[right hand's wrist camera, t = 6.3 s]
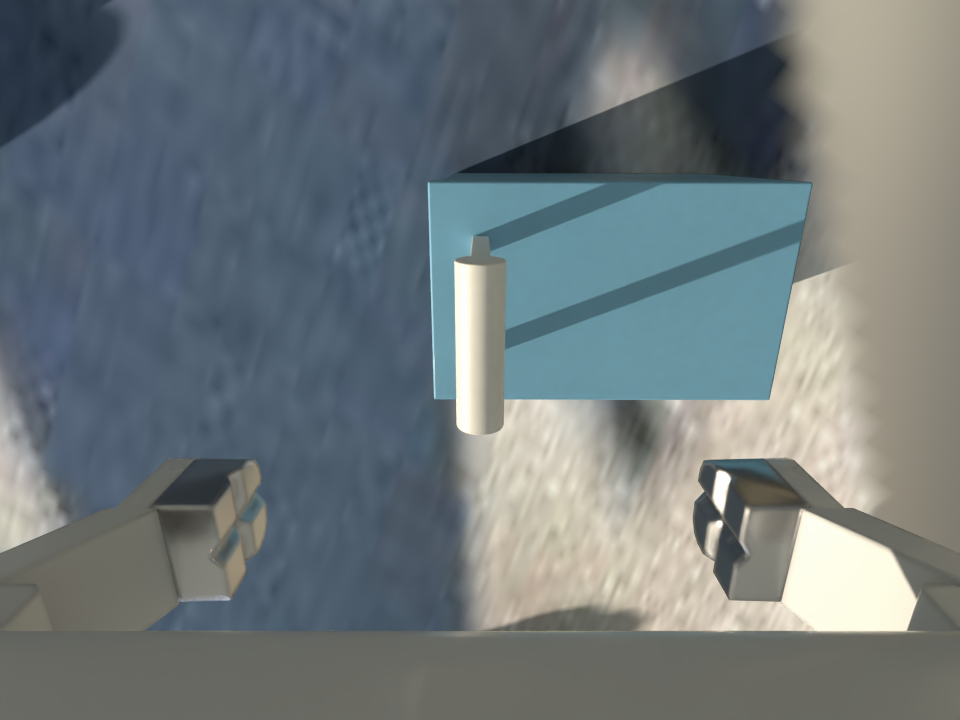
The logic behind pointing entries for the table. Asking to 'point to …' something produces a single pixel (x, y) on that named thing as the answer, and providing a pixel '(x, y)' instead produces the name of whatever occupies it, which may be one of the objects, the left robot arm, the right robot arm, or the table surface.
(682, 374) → the lid
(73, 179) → the table surface
